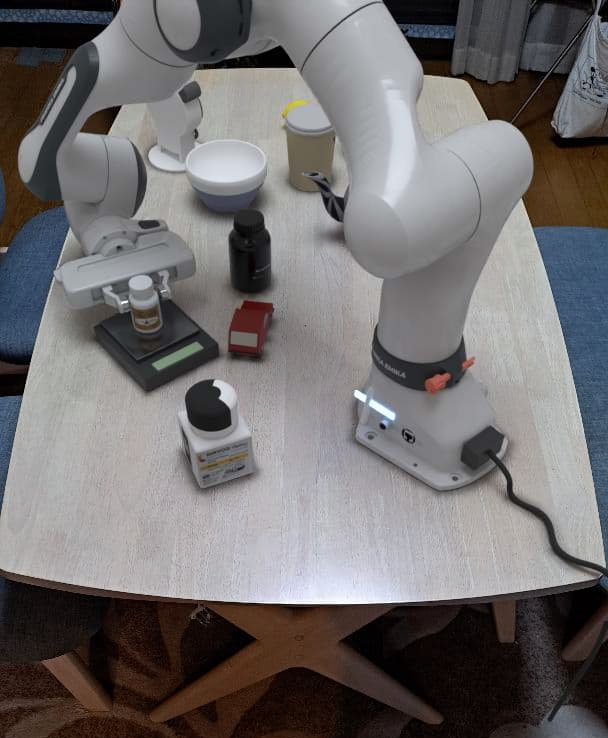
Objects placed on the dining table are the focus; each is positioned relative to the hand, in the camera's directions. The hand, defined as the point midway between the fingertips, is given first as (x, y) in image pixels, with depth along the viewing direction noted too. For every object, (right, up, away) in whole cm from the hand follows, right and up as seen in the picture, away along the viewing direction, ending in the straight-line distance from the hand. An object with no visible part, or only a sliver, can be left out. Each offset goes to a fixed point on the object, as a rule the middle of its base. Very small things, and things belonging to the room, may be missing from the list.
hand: (146, 302), depth 118 cm
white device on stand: (-1, +40, +39) cm, 55 cm away
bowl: (+9, +28, +30) cm, 42 cm away
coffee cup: (+24, +33, +34) cm, 53 cm away
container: (+11, -24, -7) cm, 28 cm away
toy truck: (+15, -3, +8) cm, 17 cm away
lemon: (+22, +48, +45) cm, 70 cm away
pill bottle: (-1, -2, +5) cm, 5 cm away
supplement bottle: (+14, +8, +16) cm, 23 cm away
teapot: (+38, +19, +24) cm, 49 cm away
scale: (0, -5, +6) cm, 8 cm away
